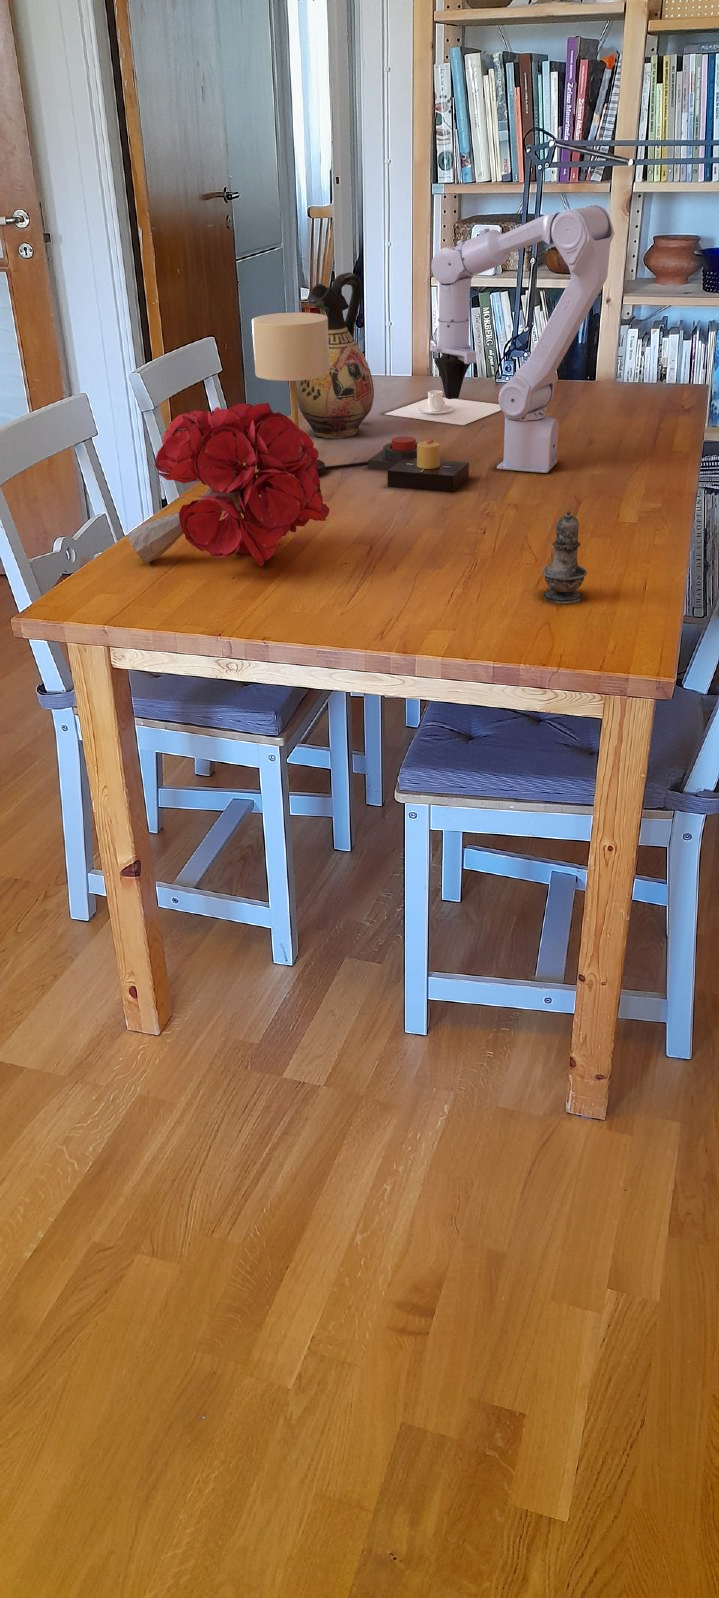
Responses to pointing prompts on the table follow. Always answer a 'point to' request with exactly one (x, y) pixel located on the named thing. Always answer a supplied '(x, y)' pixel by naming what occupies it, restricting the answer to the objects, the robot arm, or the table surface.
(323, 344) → the table lamp
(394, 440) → the lamp switch
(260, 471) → the bouquet
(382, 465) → the switch box
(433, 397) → the teacup and saucer
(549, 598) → the salt shaker
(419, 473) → the dimmer panel
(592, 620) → the table surface
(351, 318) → the ceramic jug
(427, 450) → the dimmer knob
